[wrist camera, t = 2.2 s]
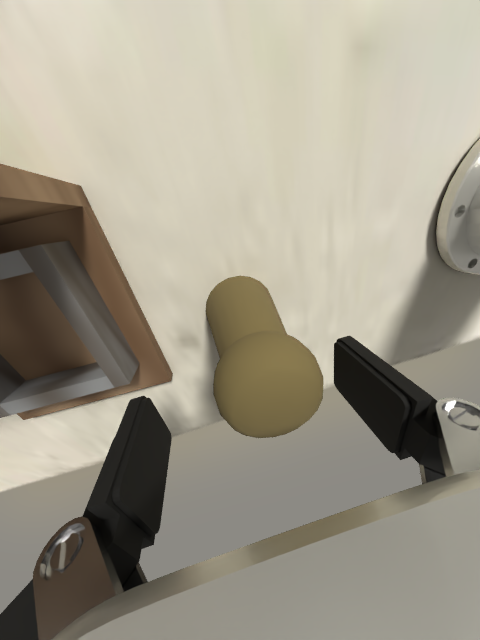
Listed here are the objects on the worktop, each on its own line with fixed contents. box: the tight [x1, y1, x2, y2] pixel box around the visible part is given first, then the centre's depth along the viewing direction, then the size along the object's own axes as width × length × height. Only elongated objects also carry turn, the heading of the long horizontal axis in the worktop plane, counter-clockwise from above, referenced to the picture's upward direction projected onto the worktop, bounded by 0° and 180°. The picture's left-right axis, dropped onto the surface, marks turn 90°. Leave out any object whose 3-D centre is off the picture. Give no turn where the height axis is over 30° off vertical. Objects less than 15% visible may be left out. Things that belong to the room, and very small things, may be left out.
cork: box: [206, 276, 323, 438], centre depth 13 cm, size 6×6×11 cm
